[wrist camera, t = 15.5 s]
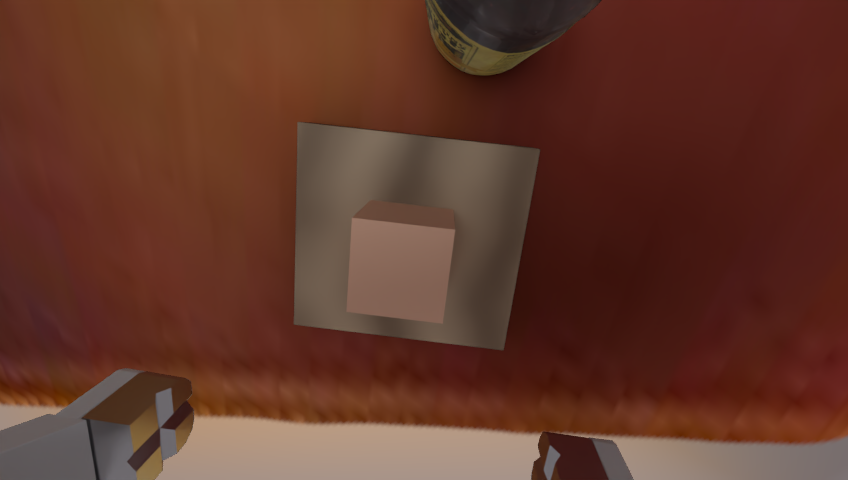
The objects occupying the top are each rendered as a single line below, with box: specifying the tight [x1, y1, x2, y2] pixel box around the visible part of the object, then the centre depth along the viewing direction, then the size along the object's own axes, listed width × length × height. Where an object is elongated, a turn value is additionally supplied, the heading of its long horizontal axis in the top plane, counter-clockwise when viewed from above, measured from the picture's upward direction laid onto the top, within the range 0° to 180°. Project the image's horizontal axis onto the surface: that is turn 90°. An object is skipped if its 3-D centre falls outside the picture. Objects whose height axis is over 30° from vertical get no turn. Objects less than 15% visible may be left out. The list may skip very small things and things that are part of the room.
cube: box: [346, 200, 455, 324], centre depth 22 cm, size 5×5×5 cm
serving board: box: [294, 122, 540, 350], centre depth 26 cm, size 14×13×2 cm
